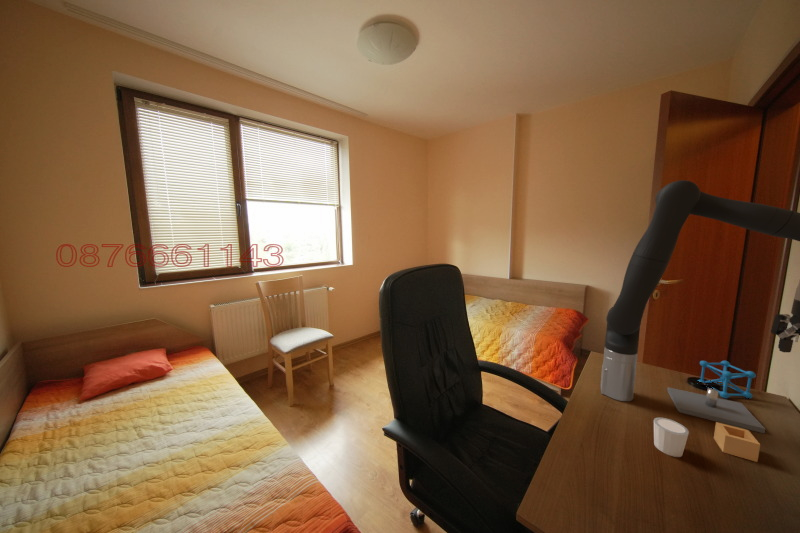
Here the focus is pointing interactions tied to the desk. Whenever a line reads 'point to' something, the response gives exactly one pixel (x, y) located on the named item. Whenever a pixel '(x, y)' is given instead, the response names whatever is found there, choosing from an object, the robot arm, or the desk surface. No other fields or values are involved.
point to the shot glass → (670, 436)
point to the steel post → (711, 397)
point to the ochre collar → (736, 441)
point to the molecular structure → (728, 378)
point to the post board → (715, 410)
